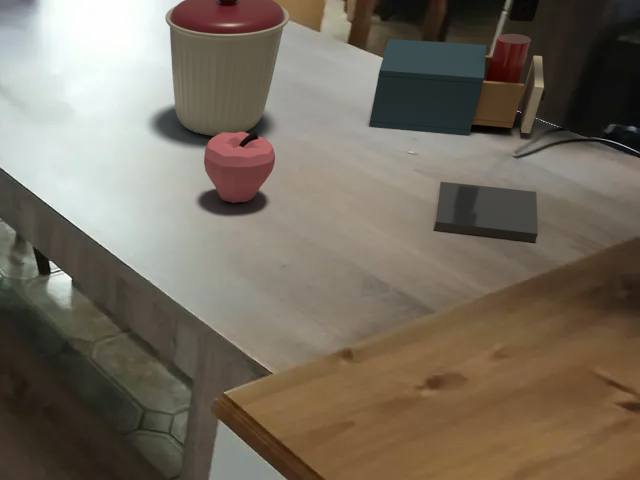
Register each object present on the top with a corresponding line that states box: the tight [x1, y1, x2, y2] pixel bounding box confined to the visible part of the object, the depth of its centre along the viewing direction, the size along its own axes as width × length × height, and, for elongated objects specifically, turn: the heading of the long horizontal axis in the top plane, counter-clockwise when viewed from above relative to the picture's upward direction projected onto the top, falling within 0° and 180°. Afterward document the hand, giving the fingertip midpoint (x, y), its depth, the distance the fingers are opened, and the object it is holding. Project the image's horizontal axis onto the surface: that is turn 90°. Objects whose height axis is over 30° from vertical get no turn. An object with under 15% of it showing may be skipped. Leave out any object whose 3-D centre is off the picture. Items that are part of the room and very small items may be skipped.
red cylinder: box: [486, 33, 532, 83], centre depth 139 cm, size 5×5×10 cm
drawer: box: [472, 54, 547, 134], centre depth 141 cm, size 15×13×7 cm
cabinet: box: [368, 38, 487, 136], centre depth 144 cm, size 15×15×9 cm
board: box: [433, 181, 539, 243], centre depth 121 cm, size 12×12×1 cm
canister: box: [164, 0, 290, 137], centre depth 141 cm, size 18×18×21 cm
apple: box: [203, 130, 276, 204], centre depth 125 cm, size 10×9×10 cm
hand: (520, 9), depth 134 cm, fingers open, 9 cm apart
